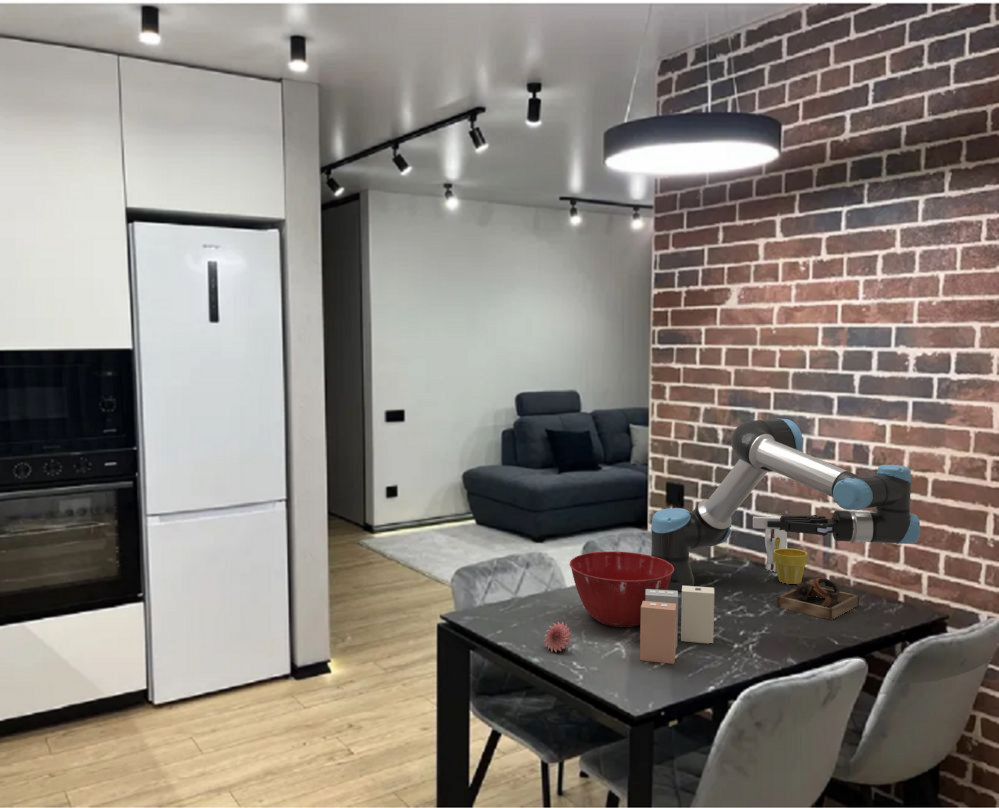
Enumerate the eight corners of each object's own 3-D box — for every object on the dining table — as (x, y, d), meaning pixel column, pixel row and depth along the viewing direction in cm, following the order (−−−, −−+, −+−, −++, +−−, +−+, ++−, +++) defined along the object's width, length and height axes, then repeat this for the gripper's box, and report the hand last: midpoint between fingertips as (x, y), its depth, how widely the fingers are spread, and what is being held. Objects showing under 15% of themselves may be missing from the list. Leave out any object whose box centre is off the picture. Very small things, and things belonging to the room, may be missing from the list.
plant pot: (765, 578, 261) (766, 548, 261) (794, 576, 264) (795, 547, 263) (784, 587, 251) (785, 557, 251) (813, 585, 254) (814, 555, 253)
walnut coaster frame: (777, 606, 233) (777, 596, 233) (805, 593, 246) (805, 583, 246) (832, 620, 222) (832, 609, 222) (858, 605, 234) (859, 595, 234)
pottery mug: (822, 597, 244) (836, 577, 240) (833, 620, 236) (847, 600, 232) (786, 588, 242) (799, 568, 238) (796, 611, 234) (809, 591, 230)
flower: (567, 619, 205) (555, 612, 201) (584, 641, 199) (572, 633, 195) (545, 641, 205) (533, 634, 202) (561, 664, 199) (550, 657, 196)
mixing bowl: (692, 618, 223) (693, 563, 222) (635, 646, 203) (636, 586, 201) (608, 596, 243) (609, 545, 241) (548, 620, 222) (548, 564, 221)
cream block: (680, 641, 206) (681, 590, 205) (681, 634, 211) (682, 584, 210) (713, 643, 204) (714, 592, 203) (712, 636, 209) (714, 587, 208)
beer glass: (783, 573, 267) (784, 528, 266) (761, 570, 271) (763, 526, 270) (788, 568, 273) (789, 525, 272) (767, 565, 277) (768, 522, 276)
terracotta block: (639, 660, 194) (640, 606, 193) (642, 652, 199) (643, 599, 198) (673, 663, 192) (674, 609, 191) (675, 656, 196) (676, 602, 195)
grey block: (644, 645, 203) (645, 594, 202) (644, 638, 208) (645, 588, 207) (677, 647, 202) (678, 596, 201) (676, 640, 207) (677, 590, 206)
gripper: (856, 547, 197) (756, 542, 201) (844, 535, 210) (749, 530, 214) (857, 517, 196) (756, 513, 201) (845, 506, 209) (750, 503, 214)
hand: (753, 522), depth 207 cm, fingers closed
